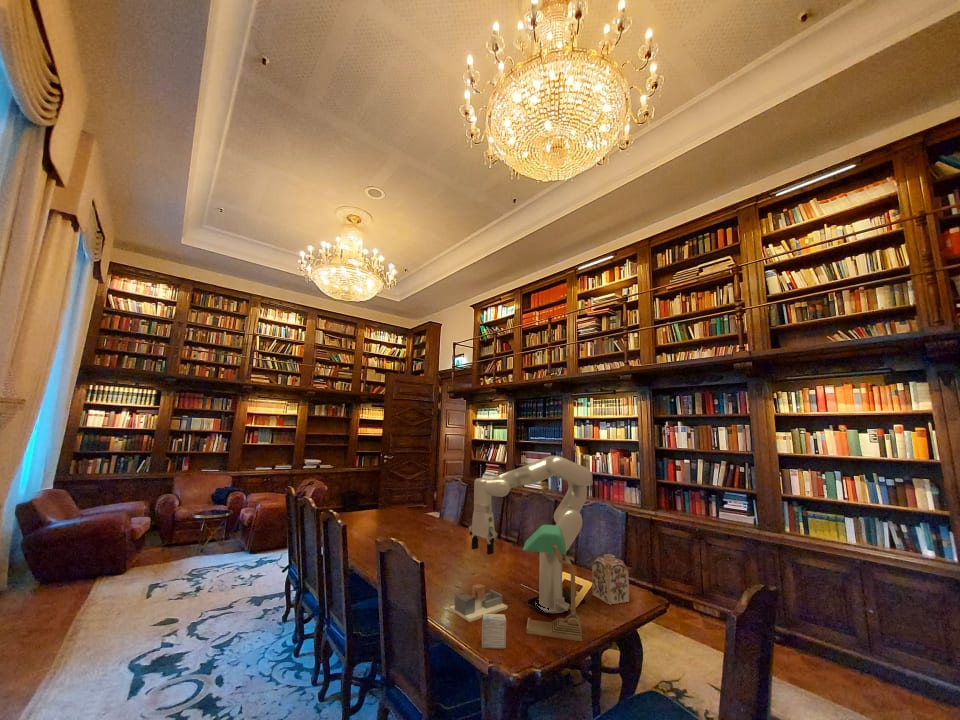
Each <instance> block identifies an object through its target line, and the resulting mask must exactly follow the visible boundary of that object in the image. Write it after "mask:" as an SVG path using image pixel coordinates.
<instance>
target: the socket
mask: <svg viewBox="0 0 960 720" xmlns="http://www.w3.org/2000/svg"><path fill="white" fill-rule="evenodd" d="M454 605H455V608H454V609H455V610H456V611H458V612H460V613H461V614H463V615H465V616H466V615H469V614H472V613H475V598H474V597H472V595H470V594H468V593H466V592H463V593H459V594H456V595H455V596H454Z"/></svg>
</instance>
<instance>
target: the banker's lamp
mask: <svg viewBox="0 0 960 720" xmlns="http://www.w3.org/2000/svg"><path fill="white" fill-rule="evenodd" d="M522 551H525V552H526V551H527V552H535V553H536V552H537V553H539V552H545V553H555V554H556V555H557V558H558V561H559V562H560V563H562V565H566V566H567V567H568V570H569V573H570V614H569V615H567V616H565V618H562V617H557V618H556V619H555V620H552V621H544V620H535V619H531V617H528V618H527V623H526V631H525V632H526V634H528V635H535V636H542V637H548V638H557V639H563V640H570V641H577V642H583V633H582V632H583V631H582V625H581V620H580V619H581V618H580V616H579V615H577V614H576V613H577V612H576V610H577V609H576V573H575V568H574V566H573V564H572V562H571V560H570V559H569V557H568V556H567V552H566V544H565V541H564V537H563V534H562V530H561V528H560V527H559V526H557V525H556V524H542V525H541V526H539V527H538V528H537V529H536V531H534V533H532V535H530V536H529V537H528V538H527V539H526V541H525V542H524V546H523V548H522ZM561 555H562V556H561Z"/></svg>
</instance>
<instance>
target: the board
mask: <svg viewBox="0 0 960 720" xmlns="http://www.w3.org/2000/svg"><path fill="white" fill-rule="evenodd" d="M485 598H486V601H485V602H484V607H481V608H478V609H475V613H472V614H469V615H466V616H465V615H463V614H461V613H460V612H458V611H456V610H455V609H454V608H455V604H454V605H450V606H449V611H451V612H453V613H454V614H456V615H458V616H459V617H461V618H462V619H464V620H465V621H467V622H469V623H472V622H474V621H476V620H479V619H482V614H498V613H500V612H502V611H505V610H507V609H508V605H507V604H505V603H503V594H502V593H499V592H497V591H495V590H493V589H490V590H489V592H487V593H485Z"/></svg>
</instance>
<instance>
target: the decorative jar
mask: <svg viewBox="0 0 960 720" xmlns="http://www.w3.org/2000/svg"><path fill="white" fill-rule="evenodd" d="M629 577H630V576H629V569H628V567H627V565H626V564H625V562H624V561H623V560H621V559H618V558H616V557H615V555H613V554H610V553H608V554H607V553H606V554H603V556H598V557H596V558H595V560H594V561H593V562H592V563H591V589H592V596H593V597H595V598H597V599H598V600H600V601H602V602H603V601H604V603H605V604H607V605H608V604H609V606H611V605H612V604H613V605H618V604H619V603H620V604H626V602H627V603H630V581H629Z"/></svg>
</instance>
